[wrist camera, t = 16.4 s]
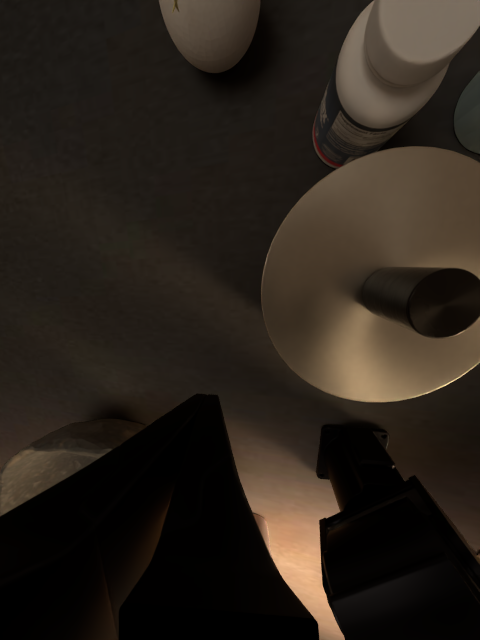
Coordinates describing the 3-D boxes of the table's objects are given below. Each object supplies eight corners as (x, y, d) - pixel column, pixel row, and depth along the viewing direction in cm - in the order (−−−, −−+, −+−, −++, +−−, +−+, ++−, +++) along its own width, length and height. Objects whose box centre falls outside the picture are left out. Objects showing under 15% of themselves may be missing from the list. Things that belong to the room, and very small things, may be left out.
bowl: (98, 517, 29) (40, 608, 22) (40, 403, 26) (-55, 463, 18) (227, 505, 27) (214, 603, 19) (185, 376, 23) (147, 433, 15)
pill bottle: (334, 75, 16) (420, -145, 7) (398, 107, 16) (557, -72, 7) (298, 154, 17) (336, 46, 9) (358, 183, 17) (453, 104, 9)
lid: (468, 398, 13) (580, 470, 8) (257, 385, 14) (255, 443, 9) (543, 154, 10) (781, 61, 5) (265, 160, 11) (269, 87, 6)
